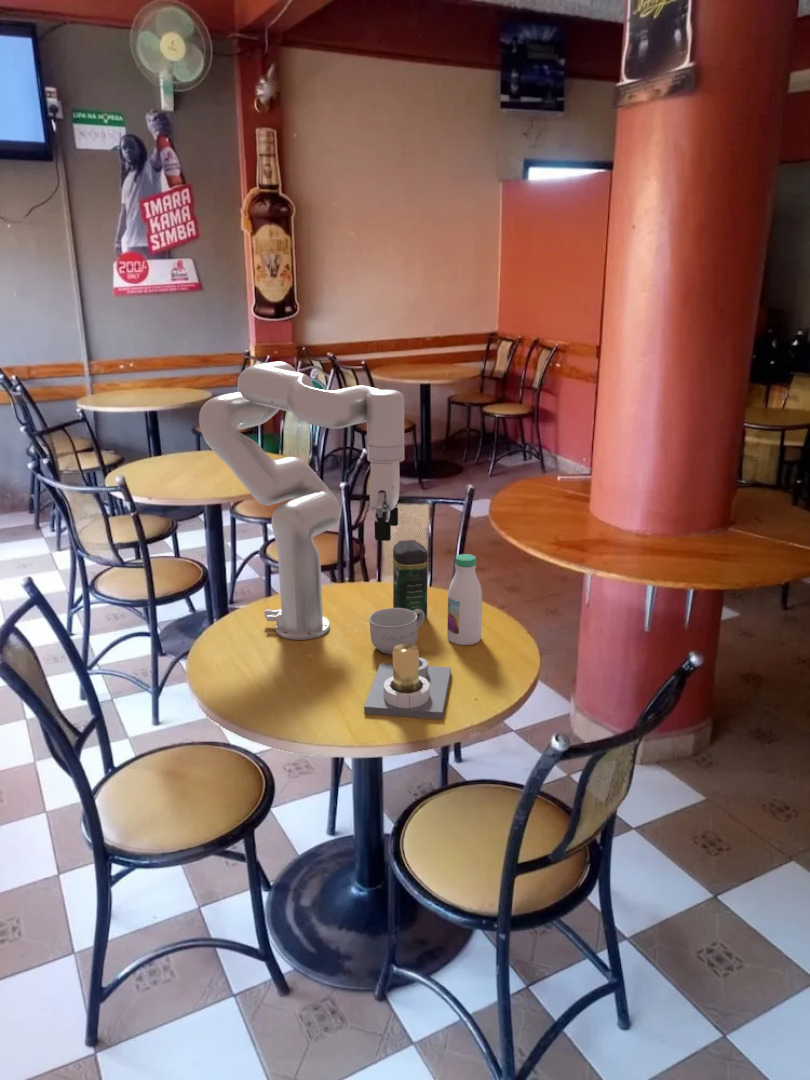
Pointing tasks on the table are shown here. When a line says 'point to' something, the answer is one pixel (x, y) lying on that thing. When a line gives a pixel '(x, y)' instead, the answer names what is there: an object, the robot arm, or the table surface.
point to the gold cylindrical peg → (405, 668)
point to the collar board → (419, 712)
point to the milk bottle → (465, 603)
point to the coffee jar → (410, 576)
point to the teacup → (394, 627)
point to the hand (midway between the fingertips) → (386, 532)
